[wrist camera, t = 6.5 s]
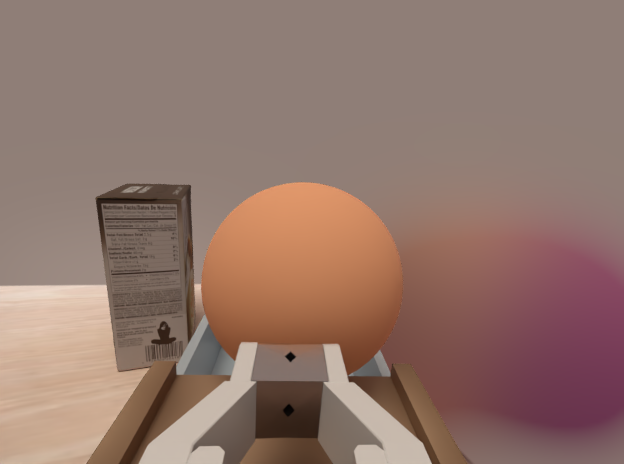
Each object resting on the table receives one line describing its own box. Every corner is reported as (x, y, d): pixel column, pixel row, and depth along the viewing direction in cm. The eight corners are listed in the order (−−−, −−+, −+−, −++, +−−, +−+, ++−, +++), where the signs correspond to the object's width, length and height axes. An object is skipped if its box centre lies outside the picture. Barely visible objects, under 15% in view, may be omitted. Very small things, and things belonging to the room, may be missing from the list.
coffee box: (138, 319, 34) (125, 182, 30) (196, 313, 36) (191, 184, 32) (115, 374, 26) (92, 195, 22) (192, 362, 28) (185, 197, 24)
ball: (123, 203, 10) (214, 223, 20) (205, 481, 10) (256, 362, 20) (390, 121, 11) (350, 181, 21) (480, 388, 10) (394, 317, 20)
